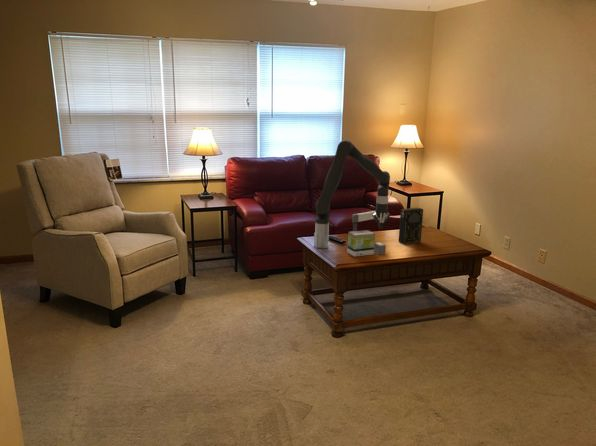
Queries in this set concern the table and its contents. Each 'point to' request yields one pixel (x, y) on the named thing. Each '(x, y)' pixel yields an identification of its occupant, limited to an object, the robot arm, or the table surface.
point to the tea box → (361, 243)
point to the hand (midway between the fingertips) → (380, 228)
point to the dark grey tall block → (410, 225)
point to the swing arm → (362, 216)
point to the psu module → (379, 248)
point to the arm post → (354, 226)
